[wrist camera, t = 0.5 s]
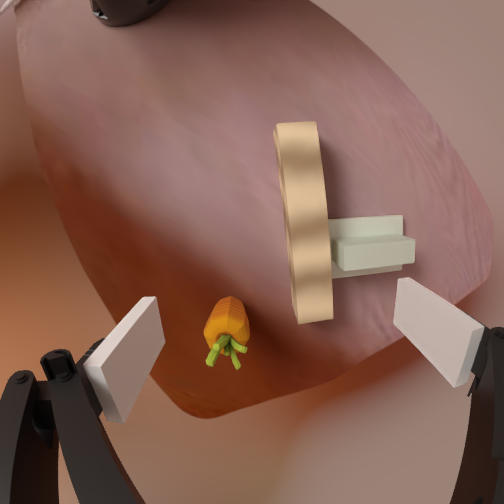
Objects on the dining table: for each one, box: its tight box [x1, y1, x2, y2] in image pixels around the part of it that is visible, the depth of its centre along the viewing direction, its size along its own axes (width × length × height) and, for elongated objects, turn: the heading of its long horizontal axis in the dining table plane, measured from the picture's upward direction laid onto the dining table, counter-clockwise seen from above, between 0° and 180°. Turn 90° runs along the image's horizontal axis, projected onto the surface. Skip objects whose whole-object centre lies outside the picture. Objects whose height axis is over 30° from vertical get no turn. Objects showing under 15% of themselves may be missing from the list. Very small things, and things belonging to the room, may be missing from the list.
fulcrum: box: [328, 215, 415, 279], centre depth 35 cm, size 8×12×6 cm, turn 95°
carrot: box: [204, 296, 250, 370], centre depth 32 cm, size 5×5×15 cm
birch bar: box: [273, 121, 333, 324], centre depth 35 cm, size 24×4×6 cm, turn 7°
